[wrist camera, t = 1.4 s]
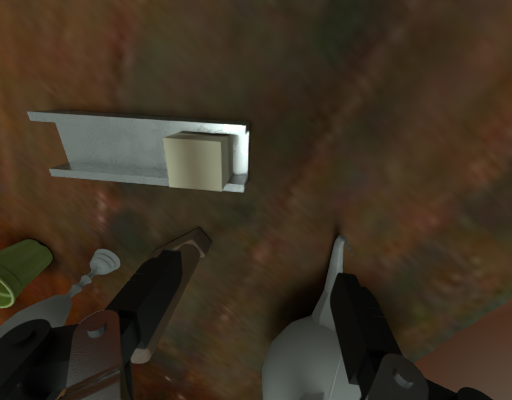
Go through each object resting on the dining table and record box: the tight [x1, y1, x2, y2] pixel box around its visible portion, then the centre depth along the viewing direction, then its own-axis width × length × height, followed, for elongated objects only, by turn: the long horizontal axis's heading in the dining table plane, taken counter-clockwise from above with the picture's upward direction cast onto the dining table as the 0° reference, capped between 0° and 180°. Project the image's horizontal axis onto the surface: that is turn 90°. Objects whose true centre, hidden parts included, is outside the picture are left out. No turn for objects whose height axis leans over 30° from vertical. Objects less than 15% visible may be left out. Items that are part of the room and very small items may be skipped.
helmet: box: [262, 235, 405, 400], centre depth 26 cm, size 24×30×35 cm
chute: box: [27, 110, 250, 192], centre depth 28 cm, size 26×8×4 cm, turn 87°
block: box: [163, 131, 233, 191], centre depth 26 cm, size 6×5×6 cm
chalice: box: [0, 249, 120, 338], centre depth 32 cm, size 7×7×18 cm
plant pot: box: [0, 239, 53, 308], centre depth 37 cm, size 9×9×9 cm
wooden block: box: [131, 228, 211, 363], centre depth 29 cm, size 4×11×18 cm, turn 122°
